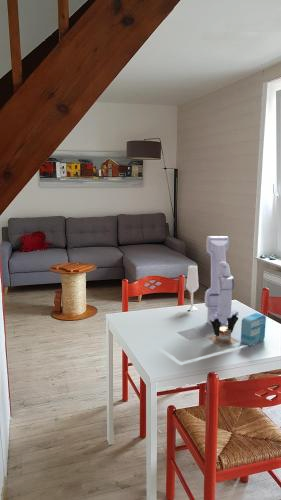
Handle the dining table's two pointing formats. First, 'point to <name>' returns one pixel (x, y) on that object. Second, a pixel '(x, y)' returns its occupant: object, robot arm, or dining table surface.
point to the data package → (253, 329)
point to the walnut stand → (223, 342)
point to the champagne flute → (192, 283)
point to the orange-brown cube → (224, 334)
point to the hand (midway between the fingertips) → (223, 333)
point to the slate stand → (192, 334)
